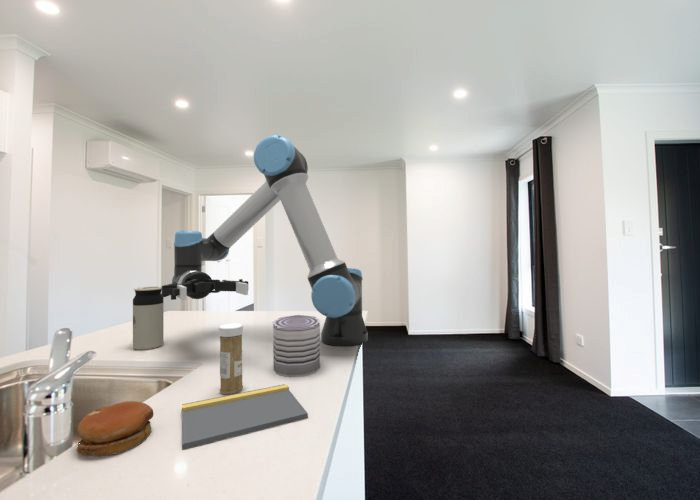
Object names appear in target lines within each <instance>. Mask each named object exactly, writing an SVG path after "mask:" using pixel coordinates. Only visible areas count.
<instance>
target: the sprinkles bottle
mask: <svg viewBox="0 0 700 500" xmlns="http://www.w3.org/2000/svg"><path fill="white" fill-rule="evenodd" d="M218 330H219V331H218V334H219V349H220V350H219V376H220V377H219V378H220V387H219V392H220V394H223V395H225V396H227V395H232V394H237V393H241V391H242V390H243V389H244V386H243V340H242V339H243V333H244V331H243V330H244V327H243V324H241V323H225V324H221V325H220V326H219V328H218Z"/></svg>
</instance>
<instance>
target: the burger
mask: <svg viewBox="0 0 700 500" xmlns="http://www.w3.org/2000/svg"><path fill="white" fill-rule="evenodd" d="M153 417H154V410H153V408H152V407H151V406H150V405H149V404H147V403H145V402H142V401H134V400H132V401H131V400H130V401H129V400H128V401H122V402H118V403H115V404H112V405H111V404H110V405H107V406H103V407H100V408H96V409H93V410H92V411H90V413H87V414H86V415H85V416H84V417H83V418H82V420H81V421H80V422H79V423H78V425H77V430H76V432H77V434H78V437H79V438H80V439H81V440H80V441H77V446H78V447H77V446H76V447H77V448H76V452H77V453H78V454H79V455H81V456H82V455H83V456H89V455H91V456H93V455H94V456H97V457H100V456H107V455H111V456H113V455H115V454H119V453H123V452H125V451H127V450H130V449H132V448H134V447H136V446H138V445H140V444H141V443H142V442H143V441H145V440H146V439H147V438H148V437H149V436H150V434H151V431H152V426H151V421H150V420H151V419H153ZM79 443H80V444H79Z"/></svg>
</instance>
